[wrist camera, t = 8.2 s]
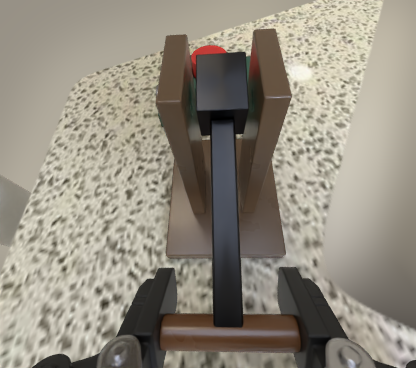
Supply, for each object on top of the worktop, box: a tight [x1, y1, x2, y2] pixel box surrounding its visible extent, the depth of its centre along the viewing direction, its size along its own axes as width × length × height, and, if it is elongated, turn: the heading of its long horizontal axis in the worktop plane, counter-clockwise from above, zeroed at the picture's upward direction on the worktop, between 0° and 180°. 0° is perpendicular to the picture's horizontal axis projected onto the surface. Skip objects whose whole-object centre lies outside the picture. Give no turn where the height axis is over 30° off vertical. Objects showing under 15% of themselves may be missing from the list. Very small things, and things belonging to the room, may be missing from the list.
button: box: [191, 45, 227, 78], centre depth 23 cm, size 4×4×2 cm
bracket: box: [156, 29, 292, 258], centre depth 15 cm, size 11×9×13 cm
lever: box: [159, 52, 301, 353], centre depth 10 cm, size 12×5×2 cm, turn 0°
